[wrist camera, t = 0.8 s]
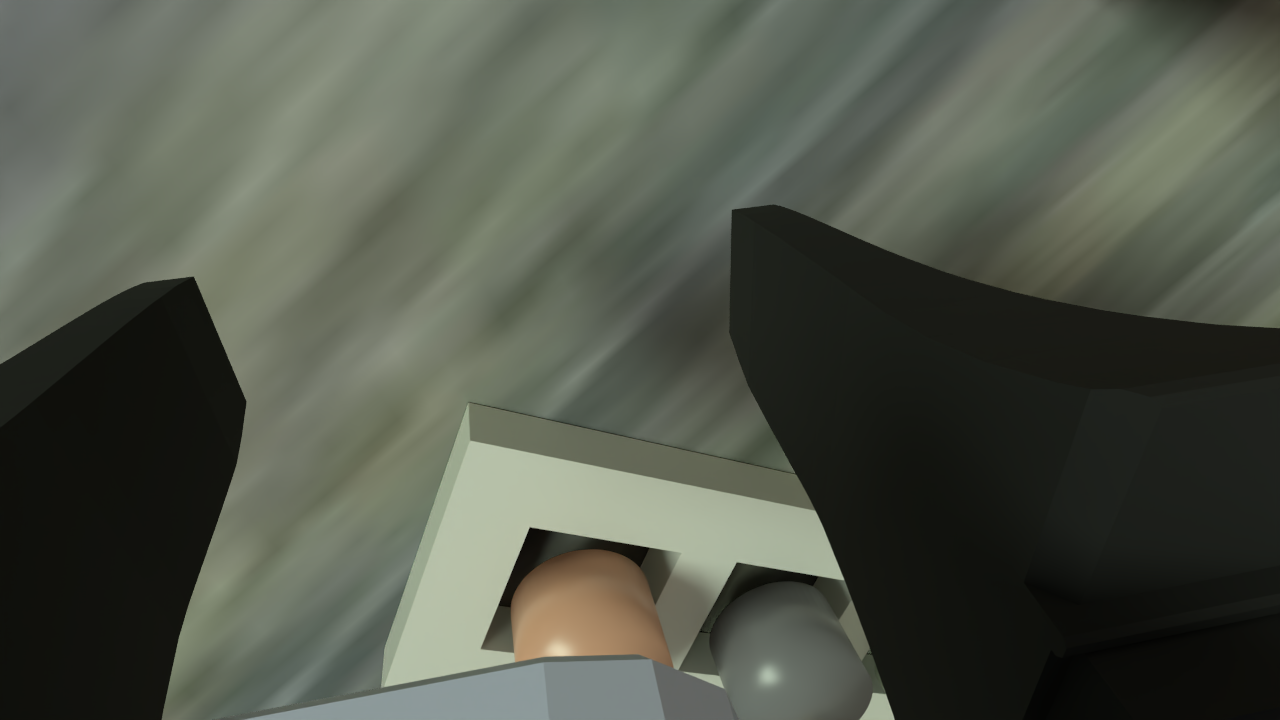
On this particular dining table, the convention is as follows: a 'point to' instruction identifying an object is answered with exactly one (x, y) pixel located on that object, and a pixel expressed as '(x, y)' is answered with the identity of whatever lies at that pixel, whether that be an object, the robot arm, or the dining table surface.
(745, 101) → the dining table surface
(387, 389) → the dining table surface
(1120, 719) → the robot arm
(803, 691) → the charcoal button
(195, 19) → the dining table surface
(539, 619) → the terracotta button
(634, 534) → the panel
